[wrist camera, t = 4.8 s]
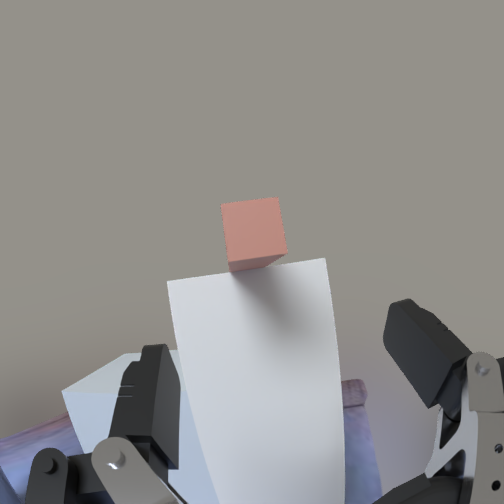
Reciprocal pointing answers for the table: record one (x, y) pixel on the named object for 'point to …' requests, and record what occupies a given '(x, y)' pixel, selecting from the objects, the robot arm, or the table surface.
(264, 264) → the rod
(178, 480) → the riser
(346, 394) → the table surface
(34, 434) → the table surface
